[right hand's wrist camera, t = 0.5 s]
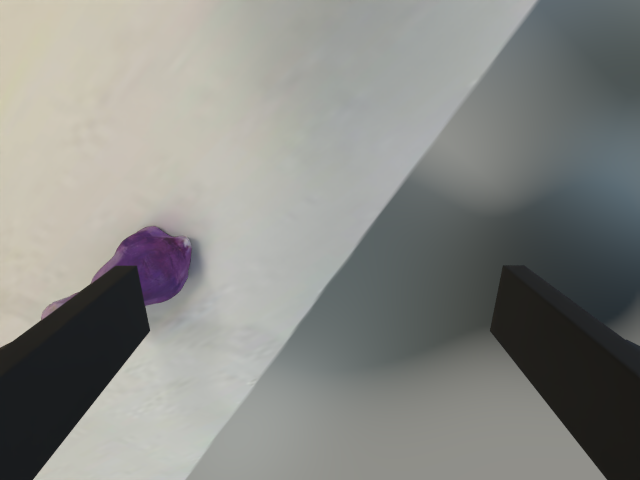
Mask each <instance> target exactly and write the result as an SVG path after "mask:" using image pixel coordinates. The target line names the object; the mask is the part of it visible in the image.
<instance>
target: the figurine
mask: <svg viewBox="0 0 640 480" xmlns="http://www.w3.org/2000/svg"><path fill="white" fill-rule="evenodd" d="M191 250H192V246H191V243H190V241H189V239H188V238H187V237H185V236H178V237H172V236H169V235H168V234H166V233H164V232H163V231H161V230H160V229H159V228H157V227H155V226H150V227H145V228H143V229H141V230H140V231H138V232H137V233H135V234H133V235H131V236H129V237H128V238H126V239H125V240H123V241H122V243H121V244H120V246H119V247H118V248H117V250H116V253H115V255H114V256H113V257H112V259H111V260H109V261H108V262H107V263H106V264H105V265H104V266H103V267H102V268H101V269H100V270H99V271H98V272H97V273H96V274H95V276H94V277H93V279H92V282H91V283H93V282H94V281H95V280H97V279H98V278H99V277H101V276H102V275H103V274H105V273H106V272H107V271H109V270H110V269H112V268H113V267H114V266H137V268H138V273H139V278H140V283H141V288H142V293H143V298H144V303H145V306H146V305H150V304H155V303H161V302H164V301H166V300H169V299H171V298H172V297H173V296H175V295H176V294H177V293H178V292H179V291H180V290H181V289H182V287H183V285H184V283H185V282H186V280H187V278H188V269H189V265H190V260H191ZM78 293H79V292H78ZM78 293H75V294H73V295H71V296H70V297H67V298H64V299H61V300H59V301H56V302H53V303H52V304H50V305H49V306H47V307H46V309H45V310H44V311H43V312H42V316H41V320H42V319H44V318H45V317H46V316H48V315H49V314H51V313H52V312H53V311H55V310H56V309H57V308H59V307H60V306H61V305H63V304H64V303H65V302H67V301H68V300H70V299H71V298H72V297H74V296H75V295H76V294H78Z"/></svg>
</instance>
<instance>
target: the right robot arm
mask: <svg viewBox="0 0 640 480" xmlns="http://www.w3.org/2000/svg"><path fill="white" fill-rule="evenodd" d="M149 331H150V328H149V323H148V318H147V313H146V308H145V303H144V298H143V293H142V288H141V283H140V278H139V273H138V268H137V266H114V267H113V268H112V269H110V270H109V271H107V272H106V273H105V274H103V275H102V276H101V277H99V278H98V279H97V280H95V281H94V282H93V283H91V284H90V285H89V286H87V287H86V288H84V289H83V290H82V291H80V292H79V293H78V294H76V295H75V296H74V297H72V298H71V299H70V300H68V301H67V302H65V303H64V304H63V305H61V306H60V307H59V308H57V309H56V310H55V311H53V312H52V313H51V314H49V315H48V316H46V317H45V318H44V319H42V320H41V321H40V322H38V323H37V324H36V325H34V326H33V327H32V328H30V329H29V330H27V331H26V332H25V333H23V334H22V335H21V336H19V337H18V338H17V339H15V340H14V341H13V342H11V343H9V344H7V345H5V346H3V347H1V348H0V480H33V479H34V478H35V476H36V475H37V474H38V472H39V471H40V470H41V469H42V467H43V466H44V465H45V464H46V462H47V461H48V460H49V458H50V457H51V456H52V455H53V453H54V452H55V451H56V450H57V448H58V447H59V446H60V445H61V443H62V442H63V441H64V439H65V438H66V437H67V436H68V434H69V433H70V432H71V431H72V429H73V428H74V427H75V425H76V424H77V423H78V422H79V420H80V419H81V418H82V417H83V415H84V414H85V413H86V411H87V410H88V409H89V408H90V406H91V405H92V404H93V403H94V401H95V400H96V399H97V398H98V396H99V395H100V394H101V392H102V391H103V390H104V389H105V387H106V386H107V385H108V384H109V382H110V381H111V380H112V378H113V377H114V376H115V375H116V373H117V372H118V371H119V370H120V368H121V367H122V366H123V364H124V363H125V362H126V361H127V359H128V358H129V357H130V356H131V354H132V353H133V352H134V351H135V349H136V348H137V347H138V345H139V344H140V343H141V342H142V340H143V339H144V338H145V337H146V335H147V334H148V333H149ZM490 331H491V333H492V334H493V335H494V337H495V338H496V339H497V340H498V342H499V343H500V344H501V345H502V347H503V348H504V349H505V350H506V352H507V353H508V354H509V356H510V357H511V358H512V359H513V361H514V362H515V363H516V364H517V366H518V367H519V368H520V370H521V371H522V372H523V373H524V375H525V376H526V377H527V378H528V380H529V381H530V382H531V384H532V385H533V386H534V387H535V389H536V390H537V391H538V392H539V394H540V395H541V396H542V398H543V399H544V400H545V401H546V403H547V404H548V405H549V406H550V408H551V409H552V410H553V411H554V413H555V414H556V415H557V417H558V418H559V419H560V420H561V422H562V423H563V424H564V425H565V427H566V428H567V429H568V431H569V432H570V433H571V434H572V436H573V437H574V438H575V439H576V441H577V442H578V443H579V445H580V446H581V447H582V448H583V450H584V451H585V452H586V453H587V455H588V456H589V457H590V458H591V460H592V461H593V462H594V464H595V465H596V466H597V467H598V469H599V470H600V471H601V472H602V474H603V475H604V476H605V478H606V479H607V480H640V346H638V345H636V344H634V343H632V342H630V341H628V340H625V339H623V338H622V337H621V336H619V335H618V334H617V333H615V332H614V331H612V330H611V329H610V328H608V327H607V326H606V325H604V324H603V323H602V322H600V321H599V320H598V319H596V318H595V317H594V316H592V315H591V314H589V313H588V312H587V311H585V310H584V309H583V308H581V307H580V306H579V305H577V304H576V303H575V302H573V301H572V300H570V299H569V298H568V297H566V296H565V295H564V294H562V293H561V292H560V291H558V290H557V289H556V288H554V287H553V286H551V285H550V284H549V283H547V282H546V281H545V280H543V279H542V278H541V277H539V276H538V275H536V274H535V273H534V272H532V271H531V270H530V269H528V268H527V267H526V266H503V268H502V273H501V278H500V283H499V288H498V293H497V298H496V303H495V308H494V313H493V318H492V323H491V328H490Z"/></svg>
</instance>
